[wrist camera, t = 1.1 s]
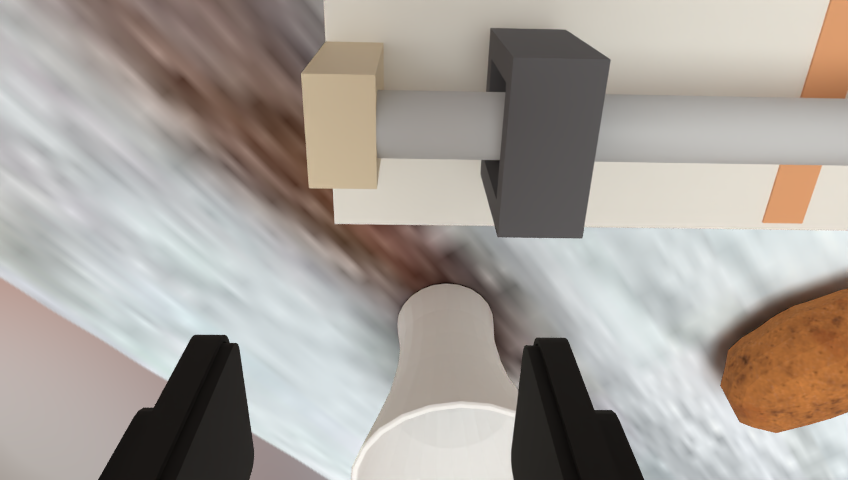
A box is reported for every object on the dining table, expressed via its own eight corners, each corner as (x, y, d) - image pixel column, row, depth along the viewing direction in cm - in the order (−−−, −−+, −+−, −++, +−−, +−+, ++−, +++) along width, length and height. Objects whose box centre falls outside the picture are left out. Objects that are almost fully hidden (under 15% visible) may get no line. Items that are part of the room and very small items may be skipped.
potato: (687, 325, 42) (736, 396, 35) (879, 246, 39) (970, 307, 33) (716, 396, 45) (766, 473, 38) (896, 327, 42) (982, 397, 36)
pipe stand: (323, -78, 30) (289, -81, 22) (1030, -60, 31) (1253, -56, 23) (336, 215, 37) (315, 295, 29) (909, 223, 38) (1044, 303, 30)
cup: (471, 403, 44) (493, 579, 32) (341, 348, 42) (313, 517, 30) (552, 297, 40) (612, 454, 28) (415, 229, 38) (416, 369, 26)
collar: (490, 28, 29) (513, 57, 22) (565, 29, 29) (610, 59, 22) (480, 174, 32) (497, 237, 26) (547, 175, 32) (582, 238, 26)
